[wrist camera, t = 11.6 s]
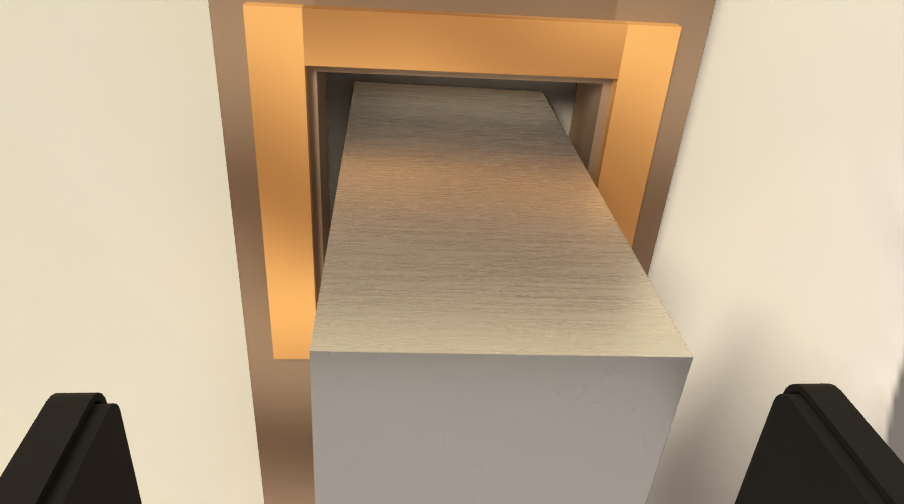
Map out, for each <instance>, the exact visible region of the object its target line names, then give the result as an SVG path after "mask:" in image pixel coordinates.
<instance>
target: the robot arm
mask: <svg viewBox="0 0 904 504" xmlns="http://www.w3.org/2000/svg"><path fill="white" fill-rule="evenodd" d="M0 504H142V503H141V498H140V494H139V490H138V485H137V481H136V477H135V472H134V468H133V464H132V459H131V455H130V451H129V446H128V442H127V438H126V433H125V429H124V425H123V420H122V416H121V412H120V409H119V406H118V405H117V404H114V403H112V404H107V402H106V399H105V397H104V396H103V394H102V393H55V394H53V395H51V396H50V398H49V399H48V400H47V401H46V403H45V404H44V406H43V408H42V409H41V411H40V413H39V414H38V416H37V418H36V419H35V421H34V423H33V424H32V426H31V427H30V429H29V431H28V432H27V434H26V436H25V437H24V439H23V441H22V442H21V444H20V446H19V447H18V449H17V450H16V452H15V454H14V455H13V457H12V459H11V460H10V462H9V464H8V465H7V467H6V468H5V470H4V472H3V473H2V475H1V477H0ZM735 504H904V464H903V462H902V461H901V460H900V459H899V458H898V457H897V456H896V454H895V453H894V452H893V451H892V450H891V449H890V447H889V446H888V445H887V444H886V443H885V442H884V440H883V439H882V438H881V437H880V436H879V435H878V433H877V432H876V431H875V430H874V429H873V428H872V426H871V425H870V424H869V423H868V422H867V421H866V419H865V418H864V417H863V416H862V415H861V414H860V412H859V411H858V410H857V409H856V408H855V407H854V405H853V404H852V403H851V402H850V401H849V400H848V399H847V397H846V396H845V395H844V394H843V393H842V392H841V390H839V389H838V388H837V387H836V386H835V385H832V384H792V385H789V386H788V387H787V388H786V389H785V391H784V393H783V394H779V395H778V396H777V397H776V398H775V400H774V401H773V404H772V407H771V409H770V412H769V415H768V417H767V420H766V422H765V425H764V428H763V430H762V433H761V436H760V438H759V441H758V443H757V446H756V449H755V451H754V454H753V457H752V459H751V462H750V464H749V467H748V470H747V472H746V475H745V478H744V480H743V483H742V485H741V488H740V491H739V493H738V496H737V499H736V501H735Z"/></svg>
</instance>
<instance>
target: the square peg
mask: <svg viewBox="0 0 904 504" xmlns="http://www.w3.org/2000/svg"><path fill="white" fill-rule="evenodd" d="M692 360H693V356H692V354H691V352H690V351H689V349H688V347H687V345H686V344H685V342H684V340H683V338H682V337H681V335H680V333H679V331H678V330H677V328H676V326H675V324H674V323H673V321H672V319H671V317H670V316H669V314H668V312H667V310H666V309H665V307H664V305H663V303H662V301H661V300H660V298H659V296H658V294H657V293H656V291H655V289H654V287H653V286H652V284H651V282H650V280H649V279H648V277H647V275H646V273H645V272H644V270H643V268H642V266H641V265H640V263H639V261H638V259H637V258H636V256H635V254H634V252H633V250H632V249H631V247H630V245H629V243H628V242H627V240H626V238H625V236H624V235H623V233H622V231H621V229H620V228H619V226H618V224H617V222H616V221H615V219H614V217H613V215H612V214H611V212H610V210H609V208H608V207H607V205H606V203H605V201H604V199H603V198H602V196H601V194H600V192H599V191H598V189H597V187H596V185H595V184H594V182H593V180H592V178H591V177H590V175H589V173H588V171H587V170H586V168H585V166H584V164H583V163H582V161H581V159H580V157H579V156H578V154H577V152H576V150H575V148H574V147H573V145H572V143H571V141H570V140H569V138H568V136H567V134H566V133H565V131H564V129H563V127H562V126H561V124H560V122H559V120H558V119H557V117H556V115H555V113H554V112H553V110H552V108H551V106H550V105H549V103H548V101H547V99H546V97H545V96H544V94H543V92H542V91H525V90H506V89H488V88H469V87H451V86H432V85H414V84H395V83H377V82H358V81H355V84H354V90H353V96H352V102H351V108H350V114H349V119H348V125H347V131H346V137H345V143H344V149H343V155H342V161H341V167H340V173H339V179H338V185H337V191H336V197H335V203H334V209H333V215H332V221H331V227H330V233H329V238H328V244H327V250H326V256H325V262H324V268H323V274H322V280H321V286H320V292H319V298H318V304H317V310H316V316H315V322H314V328H313V334H312V340H311V346H310V377H311V405H312V432H313V460H314V488H315V504H646V501H647V498H648V494H649V491H650V488H651V485H652V482H653V479H654V476H655V473H656V470H657V467H658V464H659V461H660V458H661V455H662V452H663V448H664V445H665V442H666V439H667V436H668V433H669V430H670V427H671V424H672V421H673V418H674V415H675V412H676V409H677V406H678V402H679V399H680V396H681V393H682V390H683V387H684V384H685V381H686V378H687V375H688V372H689V369H690V366H691V363H692Z"/></svg>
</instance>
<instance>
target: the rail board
mask: <svg viewBox="0 0 904 504" xmlns="http://www.w3.org/2000/svg"><path fill="white" fill-rule="evenodd" d="M208 1H209V10H210V19H211V28H212V37H213V46H214V55H215V64H216V73H217V82H218V91H219V100H220V109H221V118H222V127H223V136H224V145H225V154H226V163H227V172H228V181H229V190H230V199H231V208H232V217H233V226H234V235H235V244H236V253H237V261H238V270H239V279H240V288H241V297H242V306H243V315H244V324H245V333H246V342H247V351H248V360H249V369H250V378H251V387H252V396H253V405H254V414H255V423H256V432H257V441H258V450H259V459H260V468H261V477H262V486H263V495H264V504H315V488H314V460H313V432H312V405H311V377H310V346H311V340H312V334H313V328H314V322H315V316H316V310H317V304H318V298H319V292H320V286H321V280H322V274H323V268H324V262H325V256H326V250H327V244H328V238H329V233H330V196H329V163H328V129H327V96H326V72H340V73H364V74H387V75H411V76H435V77H459V78H483V79H506V80H530V81H554V82H578V83H577V90H576V96H575V102H574V108H573V115H572V121H571V127H570V134H569V140H570V141H571V143H572V145H573V147H574V148H575V150H576V152H577V154H578V156H579V157H580V159H581V161H582V163H583V164H584V166H585V168H586V170H587V171H588V173H589V175H590V177H591V178H592V180H593V182H594V184H595V185H596V187H597V189H598V191H599V192H600V194H601V196H602V198H603V199H604V201H605V203H606V205H607V207H608V208H609V210H610V212H611V214H612V215H613V217H614V219H615V221H616V222H617V224H618V226H619V228H620V229H621V231H622V233H623V235H624V236H625V238H626V240H627V242H628V243H629V245H630V247H631V249H632V250H633V252H634V254H635V256H636V258H637V259H638V261H639V263H640V265H641V266H642V268H643V270H644V272H645V273H646V275H647V276H648V272H649V268H650V264H651V259H652V255H653V251H654V247H655V243H656V239H657V235H658V231H659V227H660V223H661V219H662V215H663V211H664V207H665V203H666V199H667V195H668V191H669V187H670V183H671V179H672V175H673V171H674V167H675V163H676V158H677V154H678V150H679V146H680V142H681V138H682V134H683V130H684V126H685V122H686V118H687V114H688V110H689V106H690V102H691V98H692V94H693V90H694V86H695V82H696V78H697V74H698V70H699V66H700V62H701V58H702V53H703V49H704V45H705V41H706V37H707V33H708V29H709V25H710V21H711V17H712V13H713V9H714V5H715V1H716V0H208Z"/></svg>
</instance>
